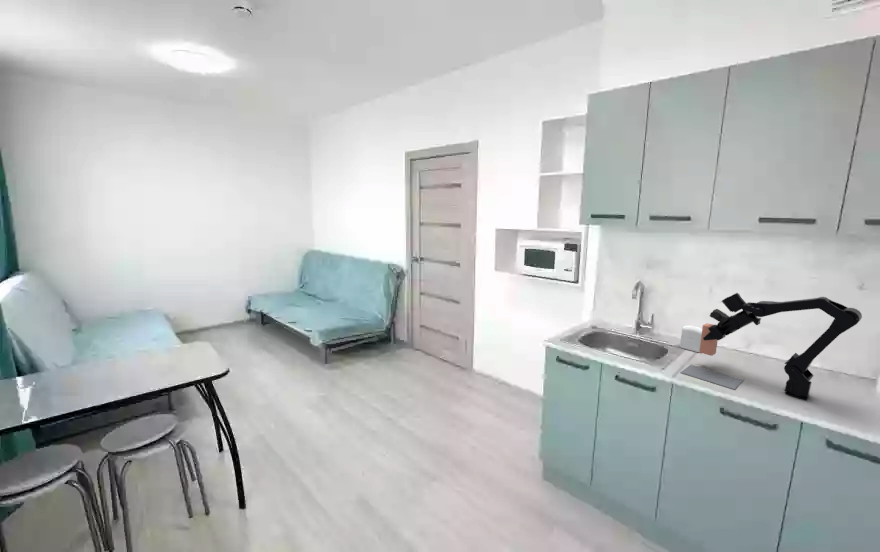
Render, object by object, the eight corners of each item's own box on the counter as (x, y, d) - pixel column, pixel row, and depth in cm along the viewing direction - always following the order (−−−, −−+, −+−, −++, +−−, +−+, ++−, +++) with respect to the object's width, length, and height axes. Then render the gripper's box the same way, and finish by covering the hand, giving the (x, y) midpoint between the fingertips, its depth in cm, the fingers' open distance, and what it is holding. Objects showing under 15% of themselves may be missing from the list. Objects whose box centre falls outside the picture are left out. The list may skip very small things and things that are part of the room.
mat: (743, 380, 168) (743, 379, 168) (734, 390, 160) (734, 389, 160) (690, 365, 183) (691, 364, 183) (680, 373, 175) (680, 372, 175)
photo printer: (678, 347, 204) (681, 324, 202) (681, 345, 207) (684, 323, 205) (700, 353, 197) (704, 330, 194) (703, 351, 199) (707, 328, 197)
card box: (715, 353, 179) (719, 326, 177) (711, 355, 177) (715, 328, 174) (703, 349, 183) (706, 323, 181) (699, 352, 181) (702, 325, 178)
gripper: (732, 301, 178) (701, 319, 189) (717, 308, 167) (685, 326, 178) (751, 323, 173) (718, 339, 184) (736, 331, 162) (702, 348, 173)
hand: (705, 338), depth 180 cm, fingers closed on card box, 5 cm apart
